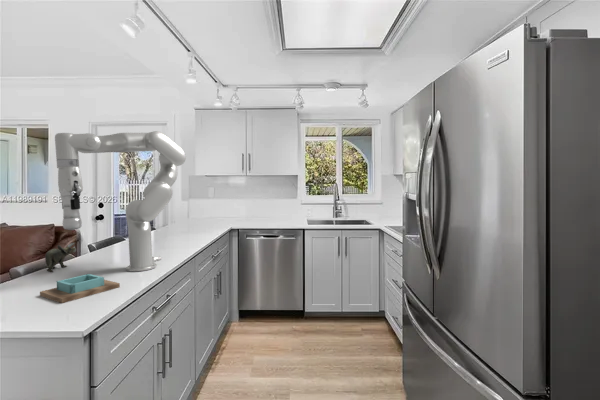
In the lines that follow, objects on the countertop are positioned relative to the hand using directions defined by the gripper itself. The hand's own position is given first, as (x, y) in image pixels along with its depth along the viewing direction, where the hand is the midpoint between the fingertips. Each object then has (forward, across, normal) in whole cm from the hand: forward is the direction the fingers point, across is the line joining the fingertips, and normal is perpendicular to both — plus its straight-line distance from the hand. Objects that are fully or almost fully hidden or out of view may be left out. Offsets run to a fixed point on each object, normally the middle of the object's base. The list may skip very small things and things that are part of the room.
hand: (71, 208), depth 143 cm
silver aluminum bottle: (+9, 0, 0) cm, 9 cm away
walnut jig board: (+30, -17, +6) cm, 35 cm away
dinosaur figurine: (+30, +29, -5) cm, 42 cm away
